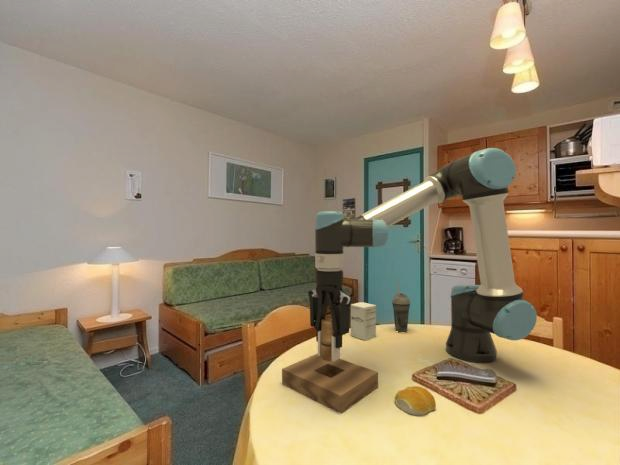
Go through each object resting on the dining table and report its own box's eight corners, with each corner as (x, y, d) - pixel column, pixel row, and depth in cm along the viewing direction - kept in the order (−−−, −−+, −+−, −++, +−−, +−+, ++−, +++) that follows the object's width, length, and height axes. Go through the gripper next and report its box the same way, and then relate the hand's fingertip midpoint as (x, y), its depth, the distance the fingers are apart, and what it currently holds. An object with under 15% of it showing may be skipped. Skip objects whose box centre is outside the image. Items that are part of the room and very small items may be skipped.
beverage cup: (411, 334, 122) (411, 284, 122) (392, 333, 123) (392, 284, 123) (409, 329, 129) (409, 281, 129) (391, 328, 130) (391, 281, 130)
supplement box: (350, 336, 120) (349, 304, 120) (362, 332, 125) (361, 301, 125) (364, 341, 114) (364, 307, 115) (376, 336, 119) (376, 304, 119)
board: (378, 387, 80) (378, 372, 80) (340, 413, 68) (340, 395, 68) (321, 364, 94) (321, 351, 94) (282, 383, 82) (281, 368, 82)
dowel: (340, 357, 81) (340, 320, 81) (330, 362, 78) (330, 323, 78) (328, 353, 84) (328, 317, 84) (318, 357, 81) (318, 320, 81)
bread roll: (441, 407, 71) (441, 390, 71) (417, 421, 66) (417, 402, 66) (412, 392, 78) (412, 376, 78) (388, 403, 73) (388, 386, 73)
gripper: (296, 267, 84) (296, 352, 84) (346, 273, 73) (346, 371, 72) (314, 265, 90) (314, 345, 90) (364, 270, 78) (363, 362, 78)
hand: (328, 356), depth 81 cm, fingers closed on dowel, 4 cm apart
